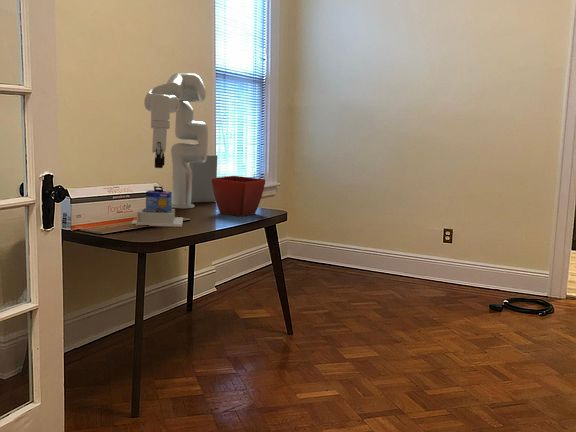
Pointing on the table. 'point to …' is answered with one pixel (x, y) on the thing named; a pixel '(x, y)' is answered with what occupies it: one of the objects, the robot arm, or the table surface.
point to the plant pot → (237, 194)
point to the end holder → (157, 218)
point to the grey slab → (203, 179)
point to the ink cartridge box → (158, 200)
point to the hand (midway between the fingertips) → (159, 166)
